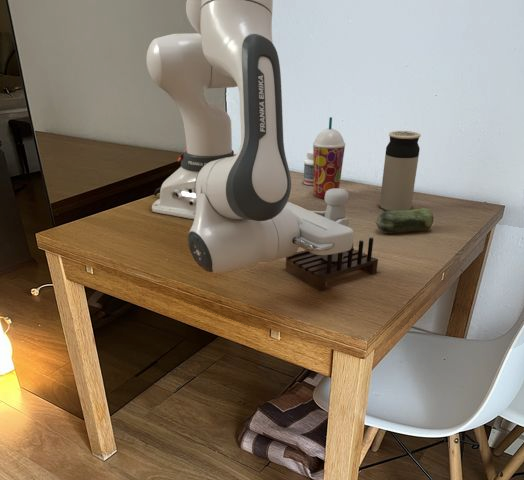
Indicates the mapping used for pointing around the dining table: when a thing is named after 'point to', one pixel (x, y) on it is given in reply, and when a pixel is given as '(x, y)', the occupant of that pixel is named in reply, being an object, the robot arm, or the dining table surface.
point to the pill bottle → (309, 169)
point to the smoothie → (327, 160)
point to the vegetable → (405, 220)
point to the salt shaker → (335, 210)
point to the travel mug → (399, 170)
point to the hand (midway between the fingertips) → (338, 218)
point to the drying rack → (330, 265)
